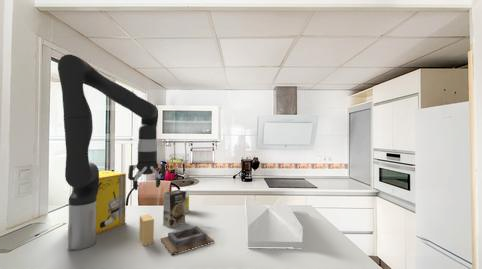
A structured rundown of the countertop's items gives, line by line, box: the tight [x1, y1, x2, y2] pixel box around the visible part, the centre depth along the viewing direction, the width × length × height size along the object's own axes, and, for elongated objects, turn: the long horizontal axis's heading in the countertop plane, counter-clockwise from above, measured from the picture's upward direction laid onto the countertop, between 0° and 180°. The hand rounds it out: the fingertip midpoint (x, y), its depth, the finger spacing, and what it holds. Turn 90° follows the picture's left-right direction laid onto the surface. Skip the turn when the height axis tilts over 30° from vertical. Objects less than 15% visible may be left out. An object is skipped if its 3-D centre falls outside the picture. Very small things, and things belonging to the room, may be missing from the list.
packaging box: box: [71, 170, 127, 235], centre depth 110 cm, size 16×16×25 cm
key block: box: [138, 213, 155, 246], centre depth 96 cm, size 4×7×10 cm, turn 36°
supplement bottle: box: [179, 188, 190, 214], centre depth 131 cm, size 7×7×13 cm
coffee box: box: [162, 189, 186, 229], centre depth 114 cm, size 9×6×16 cm
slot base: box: [160, 225, 215, 256], centre depth 96 cm, size 18×14×4 cm
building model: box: [244, 194, 304, 249], centre depth 114 cm, size 45×22×10 cm, turn 0°
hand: (147, 188), depth 96 cm, fingers open, 8 cm apart
